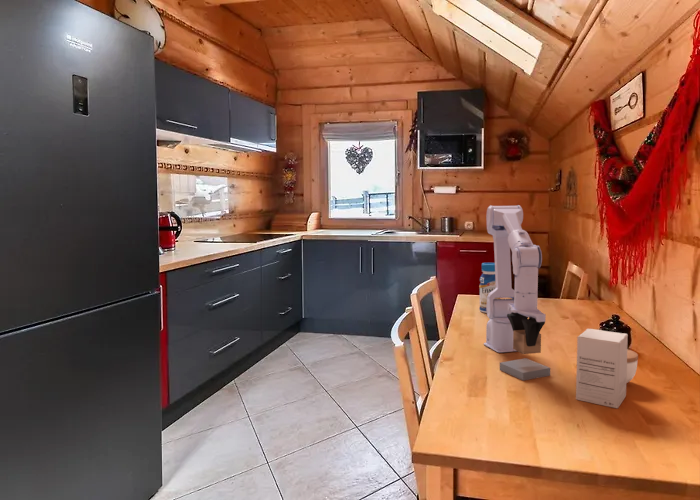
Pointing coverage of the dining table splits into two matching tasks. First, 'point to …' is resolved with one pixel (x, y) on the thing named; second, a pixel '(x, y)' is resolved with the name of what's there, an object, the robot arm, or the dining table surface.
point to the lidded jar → (631, 364)
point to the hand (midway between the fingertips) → (525, 342)
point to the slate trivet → (524, 369)
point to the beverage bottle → (486, 284)
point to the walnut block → (521, 345)
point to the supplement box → (601, 367)
